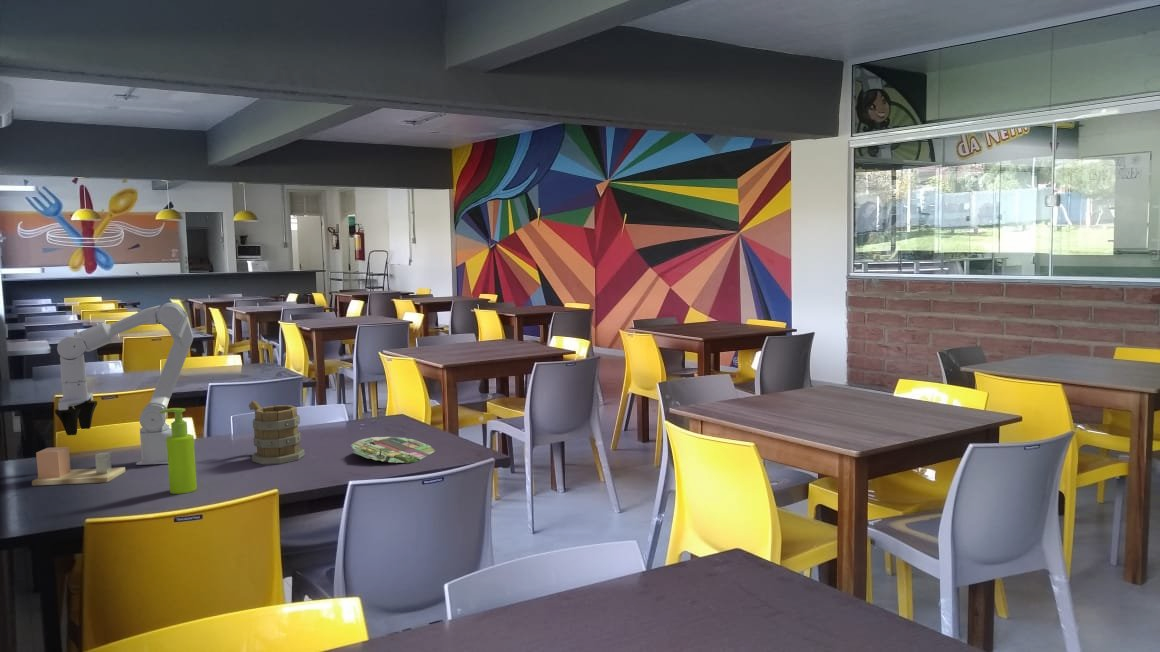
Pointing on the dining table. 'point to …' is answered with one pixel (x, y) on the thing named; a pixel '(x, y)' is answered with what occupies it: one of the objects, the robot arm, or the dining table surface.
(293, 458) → the tankard
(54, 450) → the tan cardboard box
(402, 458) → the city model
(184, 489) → the soap dispenser
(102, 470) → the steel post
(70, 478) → the birch board
